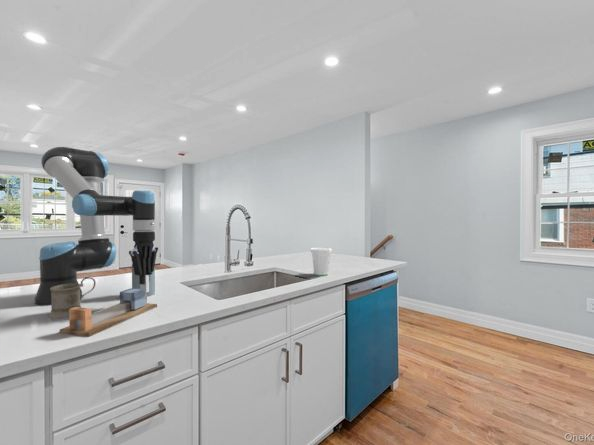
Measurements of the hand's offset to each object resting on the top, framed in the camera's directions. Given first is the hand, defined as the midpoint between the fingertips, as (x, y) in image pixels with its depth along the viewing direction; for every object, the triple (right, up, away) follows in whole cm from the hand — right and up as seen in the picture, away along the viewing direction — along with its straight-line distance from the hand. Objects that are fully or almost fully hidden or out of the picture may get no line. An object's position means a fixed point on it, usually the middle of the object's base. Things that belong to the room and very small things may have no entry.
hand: (144, 291), depth 113 cm
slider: (-1, -4, -6) cm, 7 cm away
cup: (+73, -4, +59) cm, 94 cm away
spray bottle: (-9, -5, +16) cm, 19 cm away
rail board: (-3, -6, -13) cm, 15 cm away
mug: (-22, -6, -7) cm, 24 cm away
